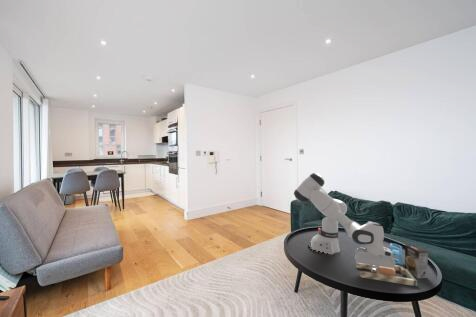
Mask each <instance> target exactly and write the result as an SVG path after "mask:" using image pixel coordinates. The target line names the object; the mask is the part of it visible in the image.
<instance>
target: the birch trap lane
mask: <svg viewBox="0 0 476 317" xmlns="http://www.w3.org/2000/svg"><path fill="white" fill-rule="evenodd" d="M355 262H356V261H355ZM355 266H356V269H362V270H360V275H359V276H360V277H361V278H363V279H369V280H375V281H376V280H377V281H382V282H387V283H388V282H389V283H395V284H400V285H407V286H413V287H418V280H417V278H416V277H415V276H413V275H412V274H411V273H410V272H409V271H408V270H407V269H404V268H405V267H403V265H399V264H395V267H394V270H395V271H396V272H399V273H400V275H402V276H405V277H402V276H397V275H396V276H390V275H384V274H378V273H376V272H371V267H372V268H375V267H376V265H372V266H371V267H370V266H369V264H363V263H357V262H356V265H355ZM363 270H369V271H363Z"/></svg>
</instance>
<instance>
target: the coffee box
mask: <svg viewBox="0 0 476 317" xmlns="http://www.w3.org/2000/svg"><path fill="white" fill-rule="evenodd" d="M404 247H405V248H404V267H403V268H404V269H407V270H408V271H409V272H410V273H411V274H412V276H413V277H414V278H415V279H427V278H428V277H427V276H428V258H429V251H428V250H426V249H424V248H423V247H421V246H418V245H416V244H405V245H404Z"/></svg>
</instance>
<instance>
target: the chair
mask: <svg viewBox="0 0 476 317" xmlns="http://www.w3.org/2000/svg"><path fill="white" fill-rule="evenodd" d="M389 249H390V250H391V251H392V253H393V256H395V257H396V258H394V261H395V265H399V266H404V261H403V260H404V259H403V257H402V254H403V251H402V249H403V246H401V245H400V244H397V243H392V242H391V243H390V244H389Z"/></svg>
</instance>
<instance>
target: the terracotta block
mask: <svg viewBox="0 0 476 317" xmlns="http://www.w3.org/2000/svg"><path fill="white" fill-rule="evenodd" d="M396 272H397V271H395V270H394V268H389V267H382V266H379V269H378V270H377V274H384V275H390V276H397V275H396Z"/></svg>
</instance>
